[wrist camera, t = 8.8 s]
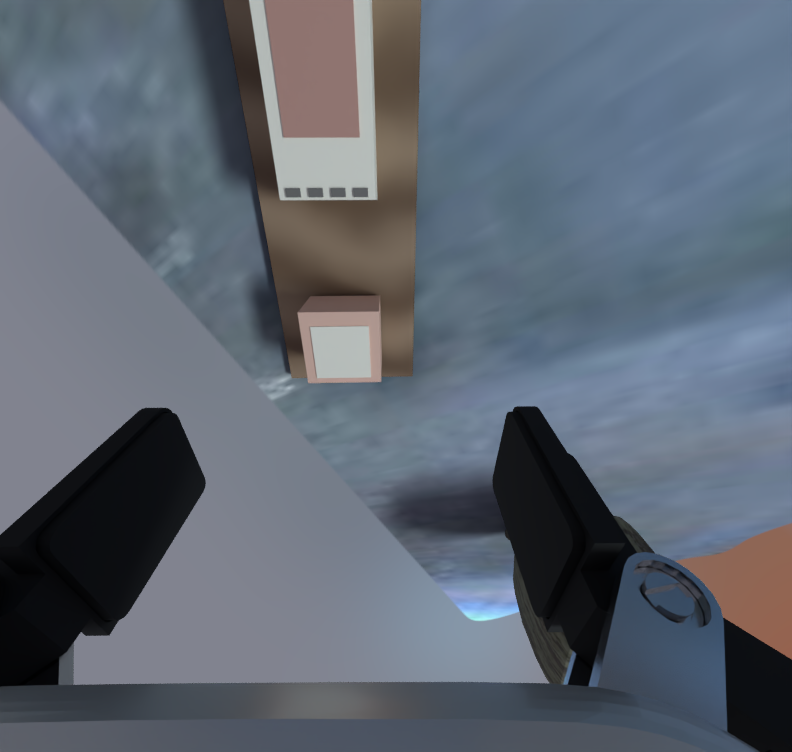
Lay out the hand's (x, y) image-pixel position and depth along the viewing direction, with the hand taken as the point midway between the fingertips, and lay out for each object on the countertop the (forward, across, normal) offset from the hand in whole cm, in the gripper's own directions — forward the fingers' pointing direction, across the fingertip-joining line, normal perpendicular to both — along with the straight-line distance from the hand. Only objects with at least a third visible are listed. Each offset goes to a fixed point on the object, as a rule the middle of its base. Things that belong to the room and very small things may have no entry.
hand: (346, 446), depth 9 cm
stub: (+20, +3, +5) cm, 21 cm away
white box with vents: (+22, +3, -13) cm, 26 cm away
